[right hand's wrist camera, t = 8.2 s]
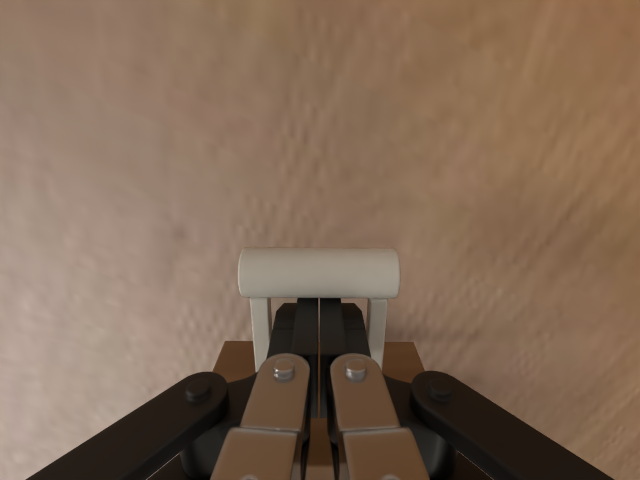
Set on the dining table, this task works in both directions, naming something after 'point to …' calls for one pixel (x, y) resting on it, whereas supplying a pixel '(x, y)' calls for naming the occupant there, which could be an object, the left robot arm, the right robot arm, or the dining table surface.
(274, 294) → the drawer
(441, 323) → the dining table surface
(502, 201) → the dining table surface
